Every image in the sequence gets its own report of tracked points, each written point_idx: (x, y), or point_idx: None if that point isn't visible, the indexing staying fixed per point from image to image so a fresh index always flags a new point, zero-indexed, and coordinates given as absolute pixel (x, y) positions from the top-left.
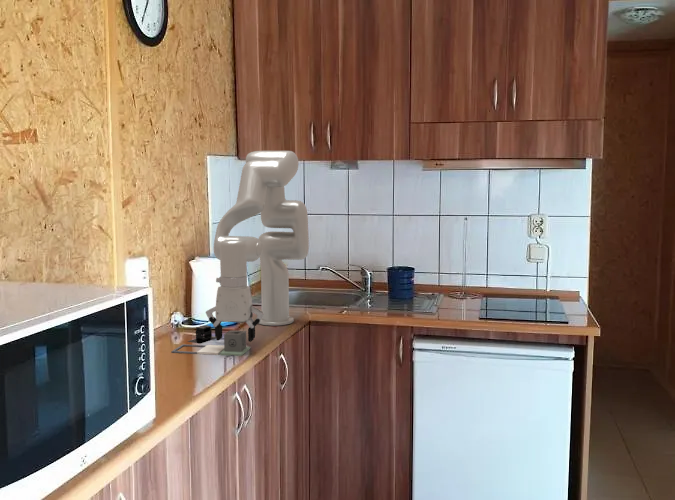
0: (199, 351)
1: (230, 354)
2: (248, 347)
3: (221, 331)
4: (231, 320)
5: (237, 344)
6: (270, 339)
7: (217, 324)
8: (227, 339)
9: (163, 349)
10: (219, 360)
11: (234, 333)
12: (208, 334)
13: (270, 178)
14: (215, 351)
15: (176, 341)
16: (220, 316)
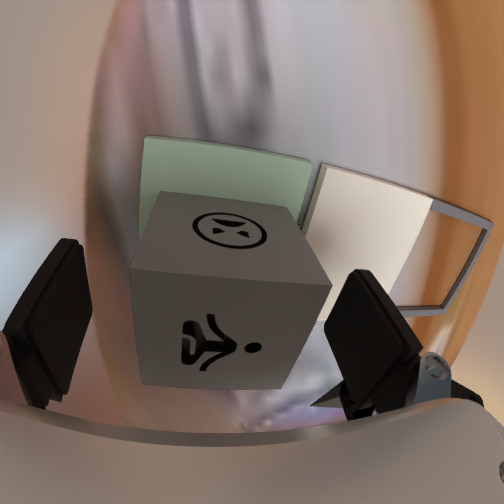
0: (423, 206)
1: (233, 146)
2: None
3: (346, 356)
4: (278, 459)
5: (180, 218)
6: (120, 401)
7: (423, 375)
8: (283, 252)
9: (492, 262)
10: (297, 26)
11: (222, 326)
12: (351, 403)
13: None
14: (344, 203)
15: (438, 345)
16: (473, 454)
